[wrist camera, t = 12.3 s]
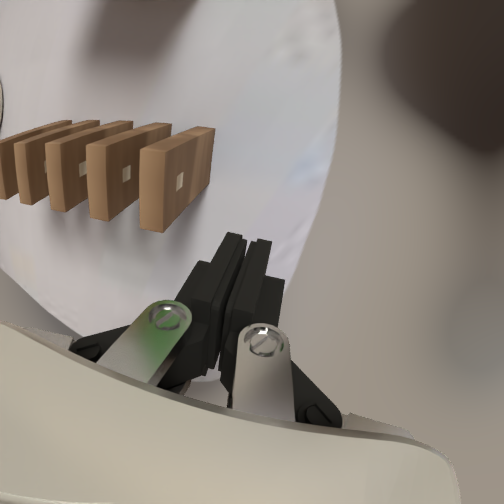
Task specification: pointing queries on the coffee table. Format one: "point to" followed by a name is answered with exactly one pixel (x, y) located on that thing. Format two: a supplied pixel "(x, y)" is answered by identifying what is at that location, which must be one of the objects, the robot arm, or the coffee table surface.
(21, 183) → the domino
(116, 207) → the domino
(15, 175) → the domino
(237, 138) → the coffee table surface
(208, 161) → the domino
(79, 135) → the domino
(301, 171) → the coffee table surface
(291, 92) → the coffee table surface
